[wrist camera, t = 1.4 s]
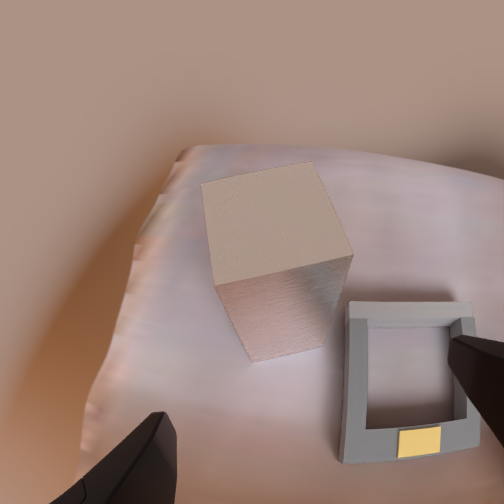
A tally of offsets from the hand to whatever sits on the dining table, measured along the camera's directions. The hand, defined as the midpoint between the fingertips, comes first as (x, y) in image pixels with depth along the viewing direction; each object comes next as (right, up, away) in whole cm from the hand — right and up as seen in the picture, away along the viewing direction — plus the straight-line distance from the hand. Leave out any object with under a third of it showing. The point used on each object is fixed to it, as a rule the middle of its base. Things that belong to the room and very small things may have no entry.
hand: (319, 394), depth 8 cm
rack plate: (+9, -5, +11) cm, 15 cm away
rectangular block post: (0, -1, +14) cm, 15 cm away
